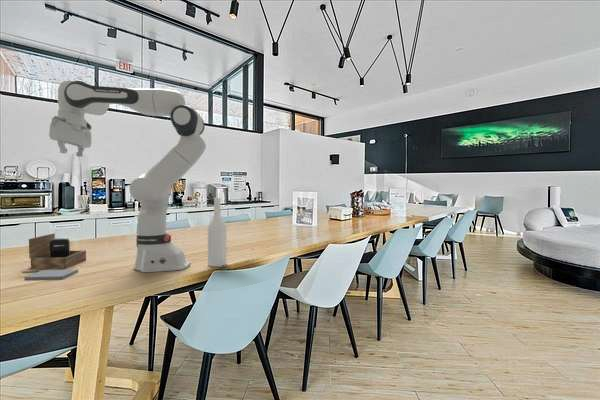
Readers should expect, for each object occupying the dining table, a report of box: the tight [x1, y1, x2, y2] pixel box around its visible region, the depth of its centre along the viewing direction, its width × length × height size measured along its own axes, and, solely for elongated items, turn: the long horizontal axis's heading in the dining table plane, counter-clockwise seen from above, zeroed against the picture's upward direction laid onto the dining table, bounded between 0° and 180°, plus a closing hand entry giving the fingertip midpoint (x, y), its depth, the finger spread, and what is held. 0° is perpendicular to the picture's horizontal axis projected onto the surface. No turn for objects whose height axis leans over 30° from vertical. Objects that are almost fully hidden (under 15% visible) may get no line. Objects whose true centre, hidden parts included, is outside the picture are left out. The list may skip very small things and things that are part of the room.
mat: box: [24, 269, 79, 281], centre depth 120 cm, size 13×10×1 cm
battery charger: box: [50, 237, 71, 258], centre depth 136 cm, size 7×4×11 cm, turn 119°
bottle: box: [207, 197, 227, 267], centre depth 139 cm, size 8×8×30 cm
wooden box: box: [21, 233, 87, 273], centre depth 134 cm, size 14×20×12 cm
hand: (71, 154), depth 129 cm, fingers open, 8 cm apart
